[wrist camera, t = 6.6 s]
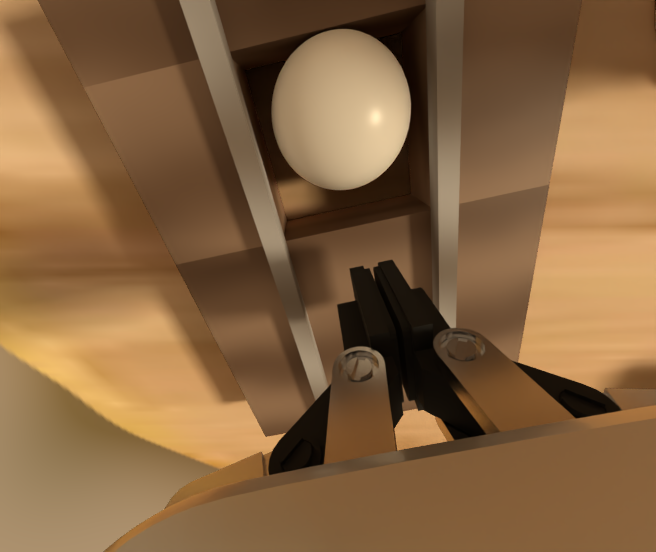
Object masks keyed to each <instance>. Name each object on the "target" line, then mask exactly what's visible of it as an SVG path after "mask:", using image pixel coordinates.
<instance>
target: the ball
mask: <svg viewBox="0 0 656 552" xmlns="http://www.w3.org/2000/svg"><path fill="white" fill-rule="evenodd" d="M271 115H272V125H273V131H274V135H275V138H276V141H277V144H278V147H279V149H280V151H281V153H282V155H283V157H284V158H285V160H286V161H287V162H288V164H289V165H290V166H291V167H292V169H293V170H294V171H295V172H296V173H297V174H298V175H300V176H301V177H302V178H304V179H305V180H307V181H308V182H310V183H312V184H314V185H316V186H319V187H322V188H325V189H331V190H349V189H354V188H357V187H360V186H363V185H366V184H368V183H370V182H371V181H373V180H374V179H376V178H377V177H379V176H380V175H381V174H382V173H383V172H385V171H386V170H387V169H388V167H389V166H390V165H391V164H392V163H393V162H394V160H395V159H396V157H397V155H398V154H399V152H400V150H401V148H402V146H403V144H404V142H405V139H406V136H407V132H408V129H409V124H410V115H411V100H410V92H409V87H408V83H407V79H406V77H405V75H404V72H403V70H402V67H401V66H400V64H399V62H398V61H397V59H396V58H395V56H394V55H393V54H392V52H391V51H390V50H389V49H388V48H387V47H386V46H385V45H384V44H383V43H381V42H380V41H378V40H377V39H375V38H374V37H372V36H371V35H368V34H366V33H363V32H360V31H356V30H352V29H335V30H329V31H326V32H322V33H320V34H317V35H315V36H313V37H311V38H309V39H308V40H307V41H305V42H304V43H302V44H301V45H300V46H299V47H298V48H297V49H296V50H295V51H294V52H293V53H292V54H291V55H290V57H289V58H288V60H287V61H286V62H285V64H284V66H283V68H282V69H281V71H280V74H279V76H278V78H277V81H276V84H275V88H274V92H273V97H272V109H271Z"/></svg>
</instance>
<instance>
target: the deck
mask: <svg viewBox="0 0 656 552" xmlns="http://www.w3.org/2000/svg"><path fill="white" fill-rule="evenodd" d="M38 2H39V4H40V6H41V7H42V9H43V11H44V13H45V15H46V17H47V19H48V21H49V23H50V25H51V27H52V28H53V30H54V32H55V34H56V36H57V38H58V40H59V42H60V44H61V46H62V48H63V50H64V51H65V53H66V55H67V57H68V59H69V61H70V63H71V65H72V67H73V69H74V71H75V73H76V74H77V76H78V78H79V80H80V82H81V84H82V86H83V88H84V90H85V92H86V94H87V96H88V97H89V99H90V101H91V103H92V105H93V107H94V109H95V111H96V113H97V115H98V117H99V118H100V120H101V122H102V124H103V126H104V128H105V130H106V132H107V134H108V136H109V138H110V140H111V141H112V143H113V145H114V147H115V149H116V151H117V153H118V155H119V157H120V159H121V161H122V163H123V164H124V166H125V168H126V170H127V172H128V174H129V176H130V178H131V180H132V182H133V184H134V186H135V187H136V189H137V191H138V193H139V195H140V197H141V199H142V201H143V203H144V205H145V207H146V209H147V210H148V212H149V214H150V216H151V218H152V220H153V222H154V224H155V226H156V228H157V230H158V231H159V233H160V235H161V237H162V239H163V241H164V243H165V245H166V247H167V249H168V251H169V253H170V254H171V256H172V258H173V260H174V262H175V264H176V266H177V268H178V270H179V272H180V274H181V276H182V277H183V279H184V281H185V283H186V285H187V287H188V289H189V291H190V293H191V295H192V297H193V299H194V300H195V302H196V304H197V306H198V308H199V310H200V312H201V314H202V316H203V318H204V320H205V321H206V323H207V325H208V327H209V329H210V331H211V333H212V335H213V337H214V339H215V341H216V343H217V344H218V346H219V348H220V350H221V352H222V354H223V356H224V358H225V360H226V362H227V364H228V366H229V367H230V369H231V371H232V373H233V375H234V377H235V379H236V381H237V383H238V385H239V387H240V389H241V390H242V392H243V394H244V396H245V398H246V400H247V402H248V404H249V406H250V408H251V410H252V412H253V413H254V415H255V417H256V419H257V421H258V423H259V425H260V427H261V429H262V431H263V433H264V434H265V436H266V437H267V436H272V435H278V434H283V433H287V432H288V431H289V430H290V428H291V427H292V426H293V425H294V424H295V423H296V422H297V421H298V420H299V419H300V417H301V416H302V415H303V414H304V413H305V412H306V411H307V410H308V409H309V408H310V406H311V405H312V404H313V403H314V402H315V401H316V400H317V399H318V398H319V396H320V395H321V394H322V393H323V392H324V391H325V390H326V389H327V388H328V387H329V385H330V384H331V381H332V370H333V365H334V361H335V360H336V358H337V357H338V355H340V354H341V353H342V352H343V351H344V346H343V340H342V334H341V328H340V321H339V315H338V309H337V304H341V303H346V302H351V301H355V297H354V292H353V286H352V281H351V276H350V270H349V268H354V267H359V266H364V269H367V268H369V269H370V271H371V273H372V275H373V278H374V271H373V267H376V266H378V262H382V261H387V260H393V261H394V263H395V264H396V266H397V267H398V269H399V271H400V272H401V274H402V275H403V277H404V279H405V280H406V282H407V283H408V285H409V286H410V288H411V289H414V288H419V287H421V288H422V289H423V290H424V291H425V292H426V294H427V295H428V297H429V298H430V299H431V301H432V302H433V304H434V305H435V306H436V308H437V309H438V311H439V312H440V314H441V315H442V316H443V318H444V319H445V321H446V322H447V323H448V325H449V326H450V328H465V329H470V330H473V331H476V332H478V333H480V334H481V335H483V336H484V337H486V338H487V339H488V340H489V341H490V342H491V343H492V344H493V345H494V346H496V347H497V348H498V349H499V350H500V351H501V352H502V353H503V354H505V355H506V356H507V357H508V358H509V359H510V360H512V361H515V362H518V359H519V353H520V348H521V342H522V336H523V331H524V325H525V319H526V314H527V308H528V302H529V297H530V291H531V285H532V280H533V274H534V269H535V263H536V257H537V252H538V246H539V240H540V235H541V229H542V223H543V218H544V212H545V206H546V201H547V195H548V189H549V184H550V178H551V172H552V167H553V161H554V155H555V150H556V144H557V138H558V133H559V127H560V122H561V116H562V110H563V105H564V99H565V93H566V88H567V82H568V76H569V71H570V65H571V59H572V54H573V48H574V42H575V37H576V31H577V25H578V20H579V14H580V8H581V3H582V0H38ZM335 29H352V30H356V31H360V32H363V33H366V34H368V35H371V36H372V37H374V38H380V37H384V36H388V35H392V34H396V33H400V32H401V33H402V50H403V68H404V75H405V77H406V79H407V83H408V87H409V92H410V100H411V115H410V124H409V129H408V132H407V138H408V155H409V173H410V190H411V194H409V195H404V196H400V197H395V198H391V199H386V200H381V201H377V202H372V203H368V204H363V205H358V206H354V207H349V208H345V209H340V210H335V211H331V212H326V213H322V214H317V215H313V216H308V217H303V218H299V219H294V220H290V221H287V218H286V215H285V211H284V208H283V204H282V201H281V197H280V193H279V190H278V186H277V183H276V179H275V176H274V172H273V169H272V165H271V162H270V158H269V154H268V151H267V147H266V144H265V140H264V137H263V133H262V130H261V126H260V122H259V119H258V115H257V112H256V108H255V105H254V101H253V98H252V94H251V90H250V87H249V83H248V80H247V76H246V73H245V70H247V69H252V68H256V67H260V66H264V65H268V64H272V63H276V62H281V61H285V60H288V58H289V57H290V55H291V54H292V53H293V52H294V51H295V50H296V49H297V48H298V47H299V46H300V45H301V44H302V43H304V42H305V41H307V40H308V39H309V38H311V37H313V36H315V35H317V34H320V33H322V32H326V31H329V30H335ZM374 280H375V278H374ZM402 386H403V385H402ZM403 395H404V402H403V403H402V408H403V411H407V410H412V409H417V406H416V403H415V401H414V400H413V401H409V400H408V398H407V396H406V393H405V390H404V387H403Z"/></svg>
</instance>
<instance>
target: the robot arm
mask: <svg viewBox="0 0 656 552" xmlns="http://www.w3.org/2000/svg"><path fill="white" fill-rule="evenodd" d="M349 270H350V276H351V281H352V286H353V292H354V297H355V301H351V302H346V303H341V304H337V309H338V315H339V321H340V328H341V334H342V340H343V346H344V351H343V352H342V353H341V354H340V355H338V357H337V358H336V360H335V361H334V365H333V370H332V381H331V384H330V385H329V387H328V388H327V389H326V390H325V391H324V392H323V393H322V394H321V395H320V396H319V398H318V399H317V400H316V401H315V402H314V403H313V404H312V405H311V406H310V408H309V409H308V410H307V411H306V412H305V413H304V414H303V415H302V416H301V417H300V419H299V420H298V421H297V422H296V423H295V424H294V425H293V426H292V427H291V428H290V430H289V431H288V432H287V433H286V434H285V435H284V436H283V437H282V438H281V440H280V441H279V442H278V443H277V445H276V446H275V448H274V449H273V451H272V452H270V453H267V454H265V455H263V454H262V452H259V453H257V454H254V455H252V456H250V457H248V458H245V459H243V460H241V461H238V462H236V463H234V464H231V465H229V466H227V467H224V468H222V469H220V470H217V471H215V472H213V473H211V474H208V475H206V476H204V477H201V478H199V479H197V480H194V481H192V482H190V483H188V484H187V485H185V486H184V487H182V488H181V489H180V490H179V491H178V492H177V493H176V494H175V495H174V496H173V497H172V498H171V499H170V501H169V503H168V504H167V506H166V507H165V509H164V510H162V511H160V512H159V513H157V514H155V515H153V516H152V517H150V518H148V519H147V520H145V521H144V522H142V523H140V524H139V525H137V526H136V527H134V528H133V529H131V530H130V531H129V532H127V533H126V534H125V535H123V536H122V537H120V538H119V539H118V540H117V541H115V542H114V543H113V544H112V545H111V546H109V547H108V548H107V549H106V550H105V551H104V552H656V389H618V388H605V390H604V393H601V392H599V391H598V390H596V389H593V388H591V387H589V386H586V385H584V384H581V383H578V382H575V381H572V380H569V379H566V378H563V377H560V376H557V375H554V374H551V373H548V372H545V371H542V370H539V369H536V368H533V367H530V366H527V365H524V364H521V363H518V362H515V361H512V360H510V359H509V358H508V357H507V356H506V355H505V354H503V353H502V352H501V351H500V350H499V349H498V348H497V347H496V346H494V345H493V344H492V343H491V342H490V341H489V340H488V339H487V338H486V337H484V336H483V335H481V334H480V333H478V332H476V331H473V330H470V329H465V328H450V326H449V325H448V323H447V322H446V321H445V319H444V318H443V316H442V315H441V314H440V312H439V311H438V309H437V308H436V306H435V305H434V304H433V302H432V301H431V299H430V298H429V297H428V295H427V294H426V292H425V291H424V290H423V289H422V288H421V287H419V288H414V289H411V288H410V286H409V285H408V283H407V282H406V280H405V279H404V277H403V275H402V274H401V272H400V271H399V269H398V267H397V266H396V264H395V263H394V261H393V260H387V261H382V262H378V266H376V267H373V271H374V278H375V280H374V278H373V275H372V273H371V271H370V269H369V268H367V269H364V266H359V267H354V268H349ZM402 385H403V386H402ZM403 387H404V390H405V393H406V396H407V398H408V400H409V401H413V400H414V401H415V403H416V406H417V408H418V411H420V410H424V411H426V412H428V413H430V414H432V415H434V416H435V419H436V422H437V424H438V426H439V428H440V430H441V431H442V433H443V435H444V436H445V438H446V439H447V441H448V442H443V443H437V444H432V445H426V446H421V447H415V448H409V449H404V450H399V451H397V445H396V437H395V430H394V428H395V427H396V425H397V423H398V422H399V420H400V419H401V417H402V416H403V408H402V403H403V402H404V395H403Z"/></svg>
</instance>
